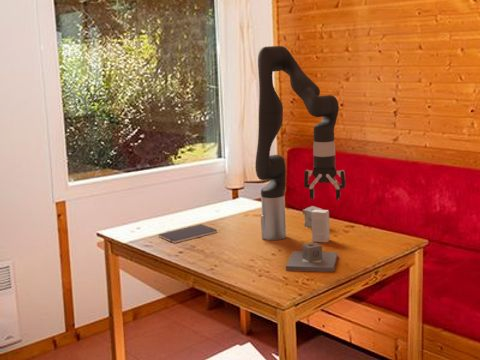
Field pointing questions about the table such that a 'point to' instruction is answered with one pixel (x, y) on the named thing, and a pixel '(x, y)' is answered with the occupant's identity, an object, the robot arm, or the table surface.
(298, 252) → the plate
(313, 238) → the skincare box
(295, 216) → the table surface
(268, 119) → the robot arm
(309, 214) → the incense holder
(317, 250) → the dice cube
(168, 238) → the notebook
